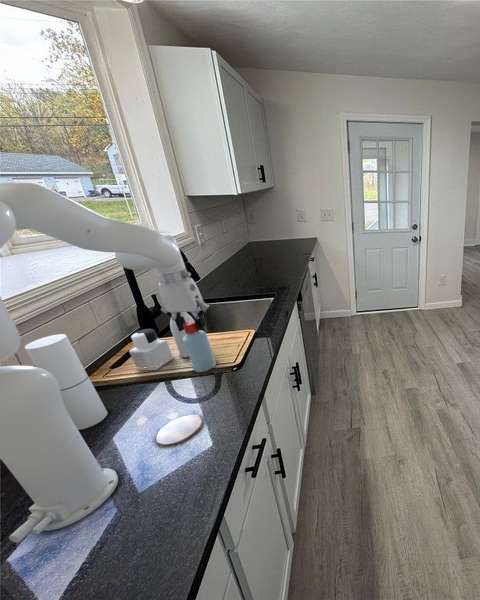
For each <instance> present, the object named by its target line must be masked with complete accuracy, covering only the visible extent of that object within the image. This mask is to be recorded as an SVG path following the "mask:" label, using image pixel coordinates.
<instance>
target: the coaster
mask: <svg viewBox="0 0 480 600" xmlns="http://www.w3.org/2000/svg"><path fill="white" fill-rule="evenodd" d="M202 426H203V419H202V417H201V416H200V415H198V414H187V415H182V416H180V417H177V418H174V419H172V420H171V421H169V422H167V423H166V424H165V425H164V426H162V427H161V429H159V431H158V432H157V434H156V435H155V441H156V443H157V444H158V445H159V446H161V447H170V446H171V447H172V446H175V445H179V444H181V443H183V442H185V441H187V440H188V439H189V440H190V438H192V437H193V436H194V435H196V434H197V433H198V432H199V430H200V429H201V428H202Z"/></svg>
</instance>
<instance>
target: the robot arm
mask: <svg viewBox="0 0 480 600" xmlns="http://www.w3.org/2000/svg"><path fill="white" fill-rule="evenodd" d="M16 230H31V231H34V232H37V233H40V234H43V235H46V236H48V237H51V238H54V239H56V240H59V241H62V242H64V243H67V244H69V245H71V246H74V247H77V248H80V249H83V250H87V251H93V252H102V253H114V254H115V255H114V256H115V260H116V262H117V263H118V264H119V266H121V267H123V268H124V269H128V270H133V271H134V270H138V271H139V270H151V269H154V272H155V274H156V278H157V279H158V282H159V283H158V290H159V295H160V298H161V301H162V306H161V308H160V311H161V312H162V313H164V314H166V315H167V316H168V317H170V319H171V318H172V320H175V322H176V325H177V327H178V330H179V331H182V330H184V327H183V323H185V319H184V317H183V316H181V312H187V313H188V312H189V313H190V314H191V315H192V316H193V317H194V319H193V320H194V321H195V324H196V327H197V329H198V330H201V331H202V330H203V329H204V328H206V321H205V319H204V315H205V313H206V312H207V311H208V309H209V308H210V305H209V304H207V303H206V302H205V301H204V298H203V297H202V294H201V292H200V289H199V287H198V285H197V284H196V282H195V280H194V279H193V278H192V277H191V275H192V273H191V272H190V271H188V270H187V268H186V264H185V261H184V259H183V256H182V254H181V250H180V248H179V244H178V242H177V239H176V238H175V237H174V236H173V235H171V234H162V233H160V232H158V231H155V230H154V229H150V228H148V227H145V226H142V225H138V224H134V223H130V222H126V221H123V220H119V219H115V218H111V217H108V216H104V215H102V214H100V213H98V212H96V211H94V210H92V209H90V208H88V207H86V206H84V205H82V204H80V203H79V202H76V201H74V200H72V199H70V198H69V197H66V196H65V195H63V194H60V193H58V192H57V191H55V190H53V189H51V188H49V187H47V186H44V185H41V184H37V183H33V182H28V181H27V182H25V181H18V182H17V181H16V182H3V183H0V250H1V249H2V248H3V247H4V246H5V244H6V243H7V242H9V241H10V240H11V239H12V237H13V236H14V234H15V232H16ZM20 346H21V335H20V333H19V330H18V328H17V325H16V324H15V322H14V320H13V318H12V317H11V314H10V311H9V310H8V308H7V306H6V304H5V303H4V300H3V298H2V297H1V296H0V362H4V361H6V360H8V359H9V358H11V357H13V356H14V355H15V354H16V353H17V352H18V350H19V349H20ZM0 460H1V461H2V463H3V464H4V466H6V467H7V469H8V470H9V472H10V473H11V474H12V475H13V477H14V479H16V481H17V482H18V483H19V485H20V486H21V487H22V488H23V490H24V491H25V493H26V494H27V495H28V496H29V498H30V499H31V500H32V501H33V503H32V505H31V506H29V508H28V510H29V512H30V513H31V514H30V515H29V516H27V520H26V521H25V522H24V523H23V524H21V525H20V526H19V527H18V528H16V530H14V532H13V533H11V534H10V535H9V536H8V539H9V540H10V541H11V542H12V543H16V544H17V543H21V542H22V541H23V540H24V539H26V537H27V536H28V535H29V534H30V533H33V534H34V535H39V534H41V533H42V531H47V532H49V531H54V530H59V529H62V528H65V527H68V526H70V525H72V524H74V523H77V522H78V521H80V520H82V519H83V518H85V517H87V516H89V515H90V514H91V513H93V512H94V511H95V510H96V509H98V508H99V507H100V506H101V505H103V504H104V503H105V502H106V501H107V499H109V497H111V495H112V494H113V492H114V491H115V489H116V487H118V483H119V476H118V474H117V472H116V471H115V469H111V468H107V467H104V468H102V467H101V466H100V464H99V462H98V461H97V459H96V458H95V456H94V454H93V453H92V451H91V449H90V447H89V445H88V444H87V443H86V441H85V439H84V437H83V435H82V434H81V432H80V431H79V430H78V429H77V428H76V426H75V424H74V423H73V421H72V419H71V418H70V416H69V414H68V412H67V410H66V408H65V405H64V403H63V400H62V396H61V391H60V387H59V384H58V381H57V379H56V378H55V377H54V376H53V375H52V374H51V373H50V372H48V371H46V370H44V369H41V368H38V367H36V366H32V365H5V366H3V365H2V366H0Z"/></svg>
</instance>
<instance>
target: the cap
mask: <svg viewBox="0 0 480 600" xmlns="http://www.w3.org/2000/svg"><path fill="white" fill-rule="evenodd" d="M194 320H195V319H193V320H190V321H187V322H185V323H183V327H184V330H185V333H186V334H192V333H195V332H198V331H199V330H198V329H197V327H196V324H195V321H194Z"/></svg>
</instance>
